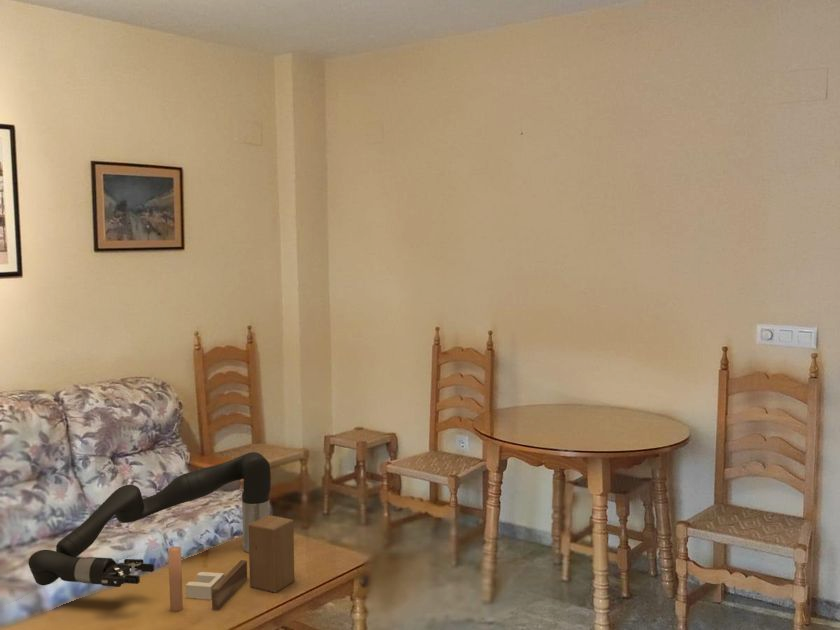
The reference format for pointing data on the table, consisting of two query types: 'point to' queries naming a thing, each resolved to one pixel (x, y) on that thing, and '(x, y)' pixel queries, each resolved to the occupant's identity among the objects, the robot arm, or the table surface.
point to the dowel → (175, 579)
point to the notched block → (203, 585)
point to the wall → (229, 585)
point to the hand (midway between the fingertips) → (146, 573)
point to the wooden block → (271, 553)
